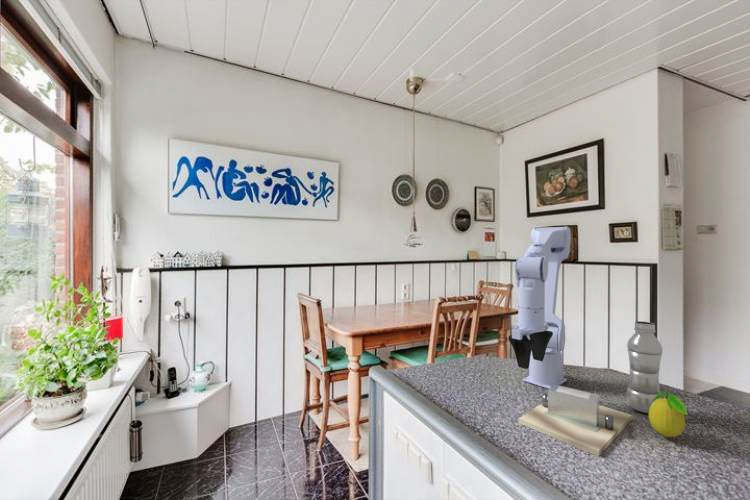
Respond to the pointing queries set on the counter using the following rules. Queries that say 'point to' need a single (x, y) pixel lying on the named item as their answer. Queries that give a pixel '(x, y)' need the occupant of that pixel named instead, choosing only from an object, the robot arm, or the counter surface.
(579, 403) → the block
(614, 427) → the pin tray
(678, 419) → the lemon
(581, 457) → the counter surface
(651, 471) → the counter surface
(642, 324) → the plastic bottle
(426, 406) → the counter surface
